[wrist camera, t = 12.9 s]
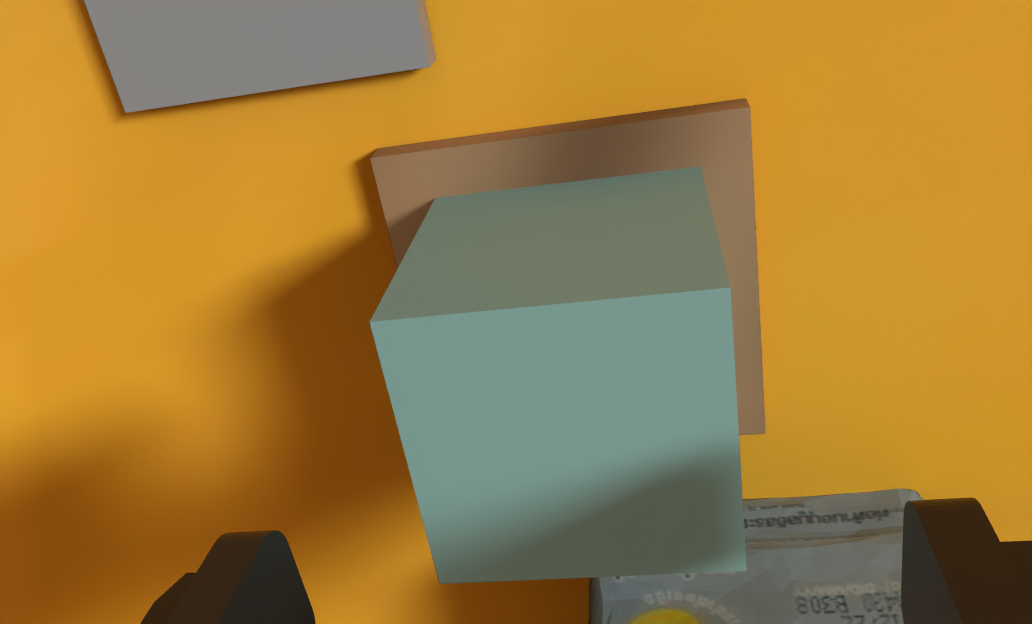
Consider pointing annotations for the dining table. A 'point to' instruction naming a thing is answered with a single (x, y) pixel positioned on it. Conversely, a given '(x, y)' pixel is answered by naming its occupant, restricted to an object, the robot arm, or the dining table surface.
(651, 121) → the pad
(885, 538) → the beverage carton
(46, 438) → the dining table surface
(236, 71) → the pad
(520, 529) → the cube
